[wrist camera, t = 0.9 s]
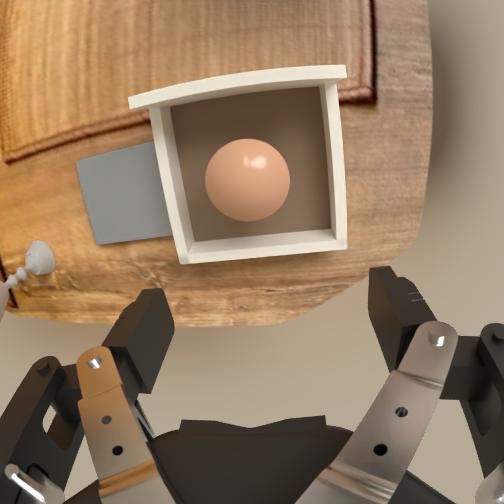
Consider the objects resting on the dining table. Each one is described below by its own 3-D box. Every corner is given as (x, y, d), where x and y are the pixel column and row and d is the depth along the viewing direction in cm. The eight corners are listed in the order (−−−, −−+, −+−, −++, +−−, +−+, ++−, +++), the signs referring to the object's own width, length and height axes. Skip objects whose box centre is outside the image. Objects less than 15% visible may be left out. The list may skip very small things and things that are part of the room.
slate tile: (80, 159, 30) (75, 161, 30) (159, 139, 29) (155, 140, 28) (100, 241, 35) (96, 244, 34) (177, 231, 33) (174, 235, 33)
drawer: (162, 99, 28) (127, 97, 20) (326, 77, 26) (345, 64, 19) (189, 247, 34) (168, 285, 27) (339, 233, 32) (357, 268, 25)
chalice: (37, 222, 34) (-60, 291, 18) (68, 260, 36) (-19, 345, 20) (18, 254, 36) (-64, 322, 20) (47, 288, 38) (-28, 367, 22)
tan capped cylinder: (215, 138, 28) (198, 146, 22) (282, 130, 28) (284, 134, 21) (225, 201, 31) (212, 225, 24) (289, 194, 30) (293, 217, 24)
